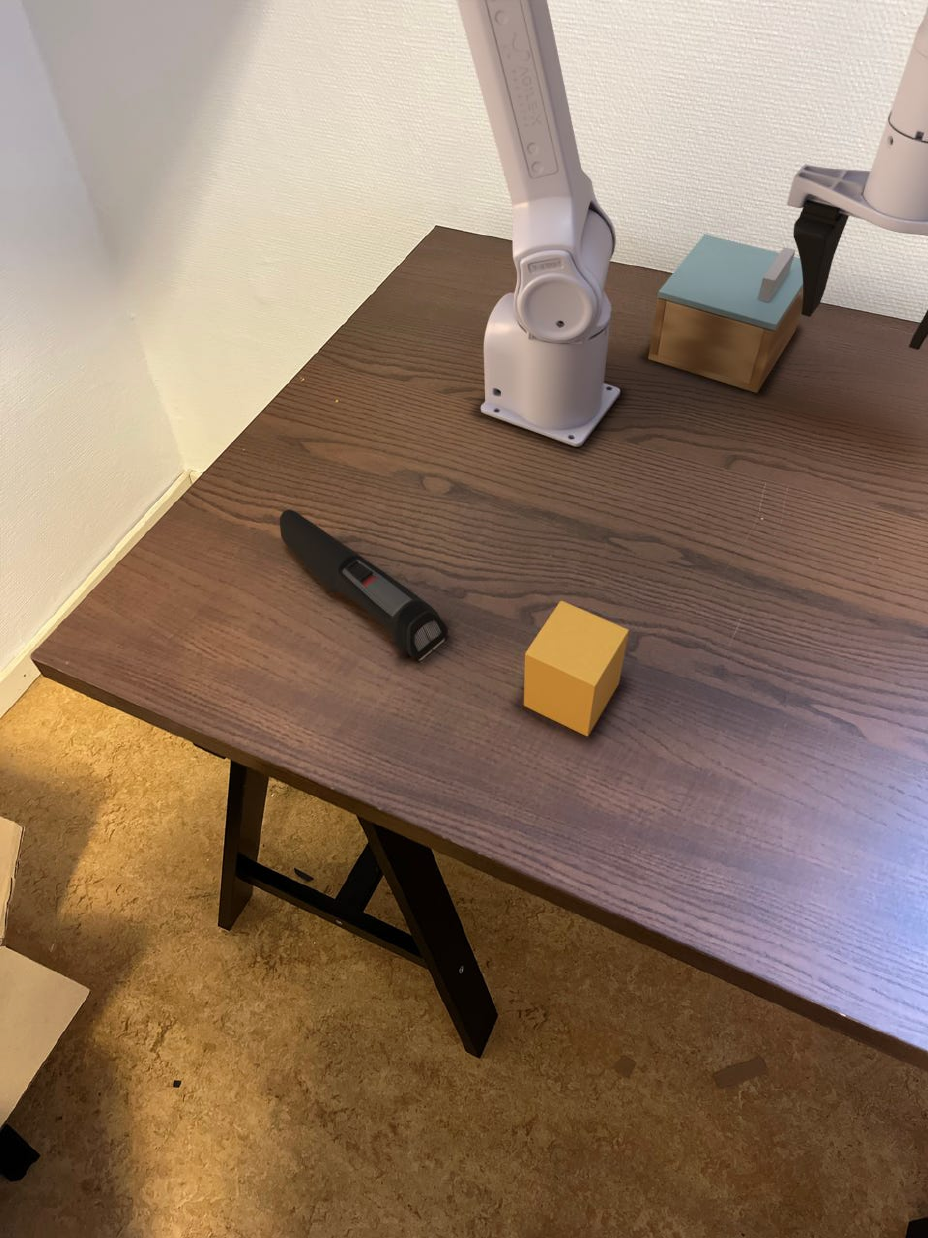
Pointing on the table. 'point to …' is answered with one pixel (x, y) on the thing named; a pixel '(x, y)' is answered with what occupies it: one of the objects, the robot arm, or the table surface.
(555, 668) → the block
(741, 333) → the box
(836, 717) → the table surface
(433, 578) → the table surface
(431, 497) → the table surface
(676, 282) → the teal lid
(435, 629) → the electric trimmer
